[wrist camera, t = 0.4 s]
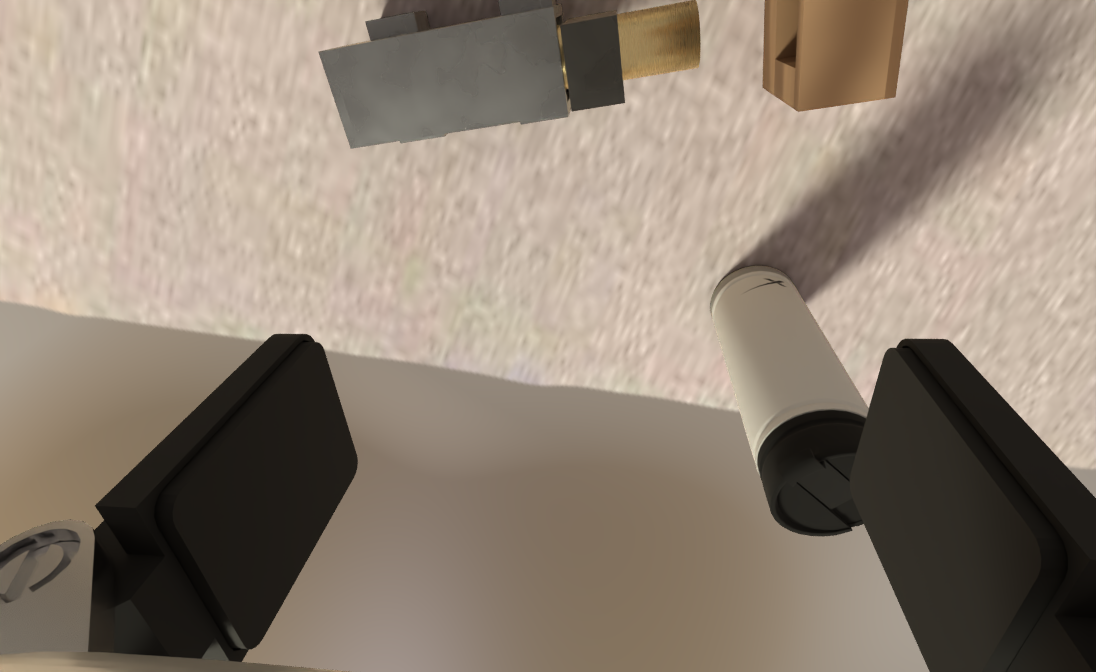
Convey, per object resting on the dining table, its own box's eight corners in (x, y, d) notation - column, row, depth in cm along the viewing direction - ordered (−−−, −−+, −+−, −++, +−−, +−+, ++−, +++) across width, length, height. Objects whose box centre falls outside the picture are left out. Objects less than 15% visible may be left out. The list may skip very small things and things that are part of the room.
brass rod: (395, 117, 35) (346, 147, 29) (377, 53, 33) (320, 69, 27) (693, 68, 32) (713, 88, 26) (691, -6, 30) (712, -3, 24)
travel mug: (757, 244, 41) (860, 429, 24) (813, 302, 43) (945, 511, 26) (689, 299, 43) (737, 500, 26) (744, 351, 45) (822, 569, 28)
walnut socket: (762, 87, 35) (798, 111, 29) (766, -68, 31) (808, -83, 25) (840, 75, 35) (895, 97, 28) (854, -86, 31) (922, -106, 24)
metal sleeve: (398, 136, 39) (356, 166, 33) (365, 22, 36) (311, 30, 29) (578, 108, 37) (571, 133, 31) (561, -17, 33) (549, -18, 27)
